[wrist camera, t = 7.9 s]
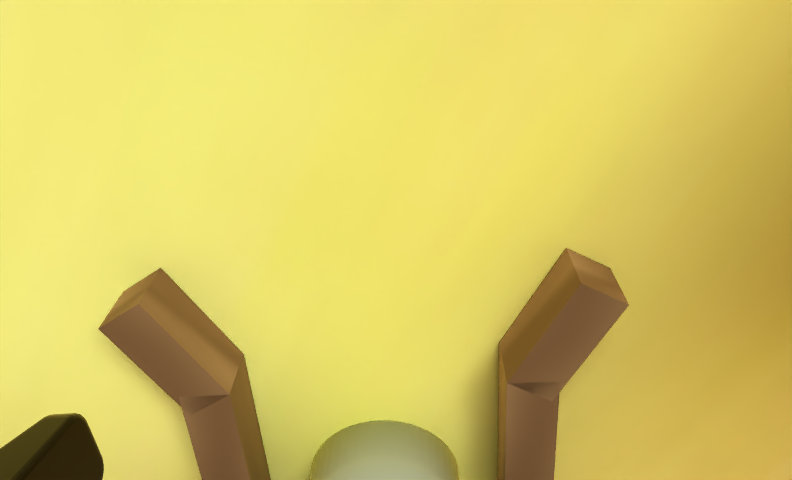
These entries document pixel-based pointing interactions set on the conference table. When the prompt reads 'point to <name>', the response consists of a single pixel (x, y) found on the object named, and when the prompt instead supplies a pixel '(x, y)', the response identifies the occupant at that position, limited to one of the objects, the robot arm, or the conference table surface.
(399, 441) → the jar
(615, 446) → the conference table surface
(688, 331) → the conference table surface
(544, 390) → the lane
